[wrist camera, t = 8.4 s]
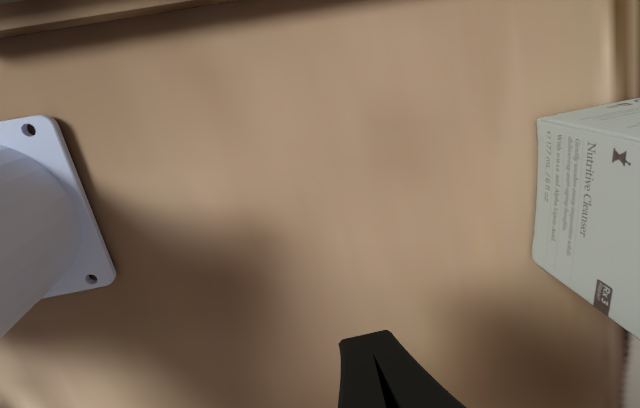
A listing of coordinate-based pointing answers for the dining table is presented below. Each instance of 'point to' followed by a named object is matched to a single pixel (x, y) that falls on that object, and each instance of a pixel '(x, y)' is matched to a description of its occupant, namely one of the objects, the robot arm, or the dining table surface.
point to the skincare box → (592, 206)
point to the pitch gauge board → (80, 12)
